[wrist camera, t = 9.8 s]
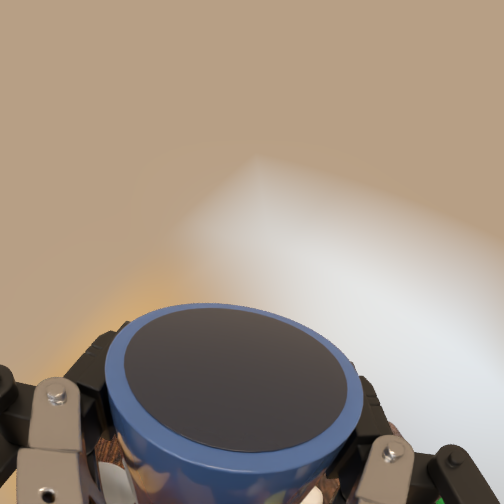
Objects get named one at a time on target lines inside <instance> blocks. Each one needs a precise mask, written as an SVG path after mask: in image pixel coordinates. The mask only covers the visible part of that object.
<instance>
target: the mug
mask: <svg viewBox="0 0 504 504" xmlns="http://www.w3.org/2000/svg"><path fill="white" fill-rule="evenodd" d="M98 464H99V470H100V477H101V482H102V488H103V493H104V497H105V501H106V504H136V503H135V500H134V497H133V494H132V491H131V488H130V485H129V482H128V479H127V475H126V472H125V470H124V469H123V468H121V467H120V466H118V465H115V464H113V463H109V462H102V461H98Z"/></svg>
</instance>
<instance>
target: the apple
mask: <svg viewBox="0 0 504 504" xmlns="http://www.w3.org/2000/svg"><path fill="white" fill-rule="evenodd" d="M301 504H323V495H322V492H321V491H320V490H319V489H318V488H317V487H316V486H315V487H314V488H313V489H312V491H311V492H310V493H309V494H308V496H307V497H306V498H305V499H304V500H303V502H302V503H301Z"/></svg>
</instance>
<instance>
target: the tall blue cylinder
mask: <svg viewBox="0 0 504 504" xmlns="http://www.w3.org/2000/svg"><path fill="white" fill-rule="evenodd" d="M104 369H105V381H106V387H107V393H108V399H109V405H110V410H111V415H112V420H113V425H114V429H115V434H116V438H117V442H118V446H119V450H120V454H121V458H122V462H123V465H124V469H125V472H126V475H127V479H128V482H129V485H130V488H131V491H132V494H133V497H134V500H135V503H136V504H301V503H302V502H303V500H304V499H305V498H306V497H307V496H308V494H309V493H310V492H311V491H312V489H313V488H314V487H315V485H316V484H317V483H318V482H319V480H320V479H321V478H322V476H323V475H324V474H325V472H326V471H327V470H328V468H329V467H330V465H331V464H332V463H333V461H334V460H335V458H336V457H337V455H338V454H339V452H340V451H341V449H342V448H343V446H344V445H345V443H346V442H347V440H348V439H349V437H350V436H351V434H352V433H353V431H354V429H355V428H356V426H357V423H358V421H359V419H360V417H361V413H362V409H363V389H362V384H361V381H360V378H359V376H358V373H357V372H356V370H355V368H354V366H353V365H352V363H351V362H350V361H349V359H348V358H347V357H346V356H345V355H344V354H343V353H342V352H341V351H340V350H339V349H338V348H337V347H336V346H335V345H334V344H332V343H331V342H330V341H328V340H327V339H326V338H324V337H323V336H322V335H320V334H318V333H317V332H315V331H313V330H312V329H309V328H307V327H306V326H304V325H302V324H300V323H297V322H295V321H293V320H290V319H288V318H285V317H282V316H279V315H276V314H273V313H270V312H267V311H263V310H258V309H254V308H249V307H244V306H237V305H230V304H219V303H193V304H182V305H176V306H170V307H166V308H162V309H158V310H155V311H152V312H149V313H147V314H145V315H143V316H141V317H138V318H137V319H135V320H133V321H132V322H130V323H129V324H128V325H126V326H125V327H124V328H123V329H122V330H121V331H120V332H119V333H118V334H117V335H116V337H115V338H114V340H113V341H112V343H111V345H110V347H109V350H108V352H107V355H106V360H105V368H104Z"/></svg>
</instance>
